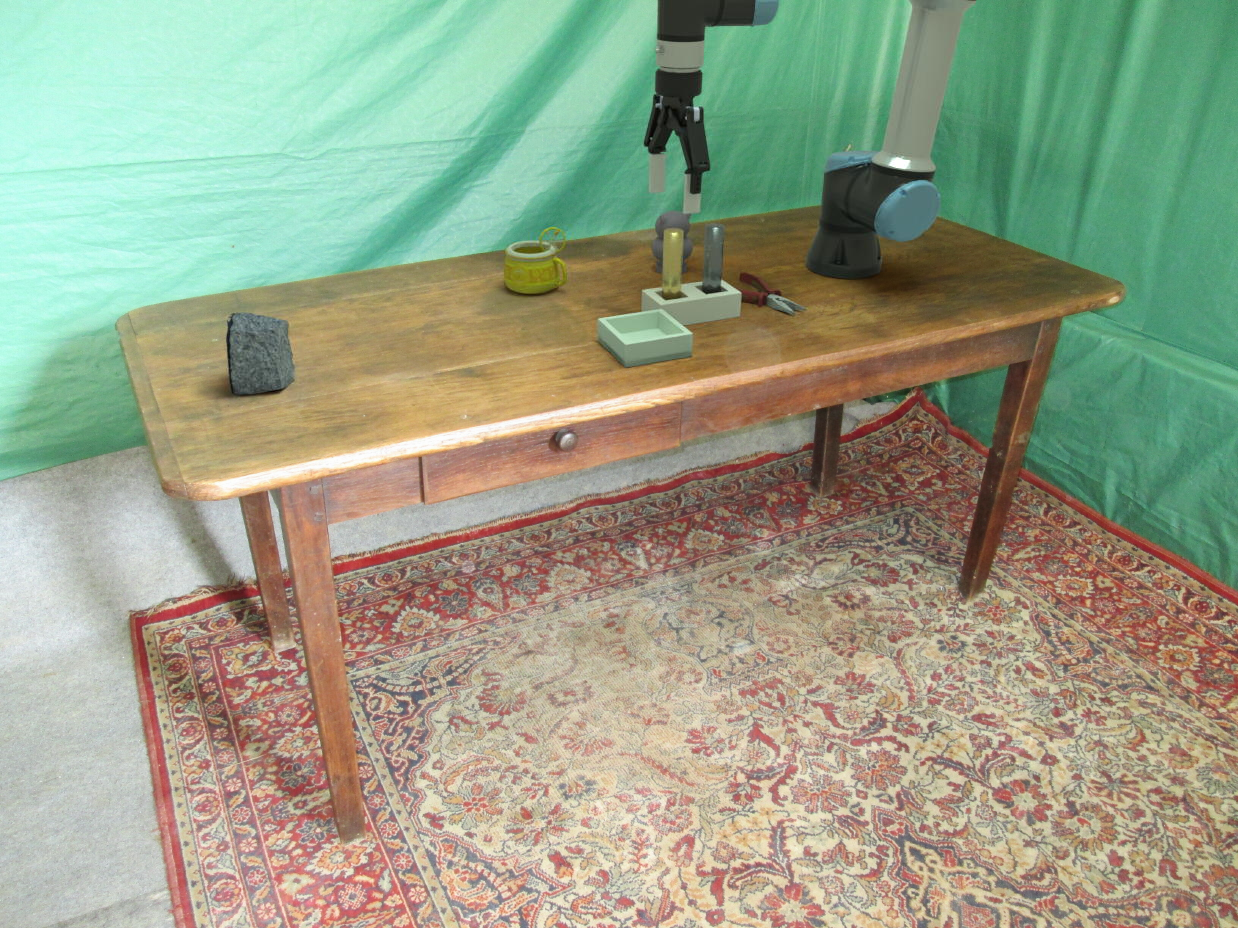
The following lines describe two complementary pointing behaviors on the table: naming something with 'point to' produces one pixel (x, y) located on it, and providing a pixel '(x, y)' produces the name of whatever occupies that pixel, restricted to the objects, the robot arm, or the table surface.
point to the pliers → (766, 295)
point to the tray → (644, 337)
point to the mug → (534, 265)
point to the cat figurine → (663, 222)
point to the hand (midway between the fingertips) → (673, 202)
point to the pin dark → (713, 258)
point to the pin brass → (672, 263)
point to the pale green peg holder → (695, 303)
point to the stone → (258, 353)
